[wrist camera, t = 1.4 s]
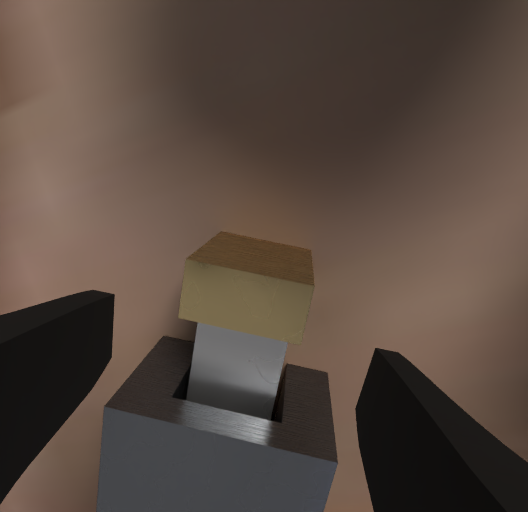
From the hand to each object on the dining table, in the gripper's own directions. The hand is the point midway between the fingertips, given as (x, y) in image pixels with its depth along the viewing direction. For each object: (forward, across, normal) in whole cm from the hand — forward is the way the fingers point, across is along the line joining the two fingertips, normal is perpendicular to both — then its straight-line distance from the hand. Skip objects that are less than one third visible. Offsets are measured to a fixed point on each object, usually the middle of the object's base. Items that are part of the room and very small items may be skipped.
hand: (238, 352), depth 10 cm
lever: (+10, 0, +5) cm, 11 cm away
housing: (+9, 0, +10) cm, 14 cm away
